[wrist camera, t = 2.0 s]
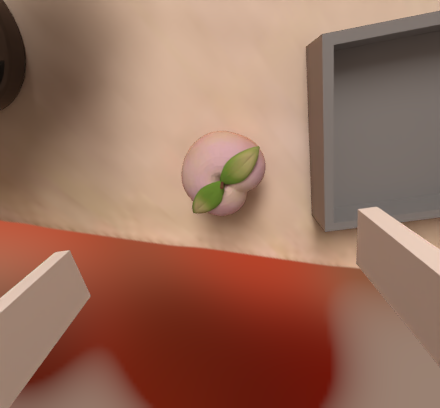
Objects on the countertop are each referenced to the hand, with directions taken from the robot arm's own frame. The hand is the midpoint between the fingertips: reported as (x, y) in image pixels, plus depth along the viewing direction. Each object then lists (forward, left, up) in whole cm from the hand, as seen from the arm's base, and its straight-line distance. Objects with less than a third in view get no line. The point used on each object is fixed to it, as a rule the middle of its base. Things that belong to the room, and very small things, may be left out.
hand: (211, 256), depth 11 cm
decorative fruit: (0, 0, -22) cm, 22 cm away
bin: (+21, +1, -22) cm, 30 cm away
